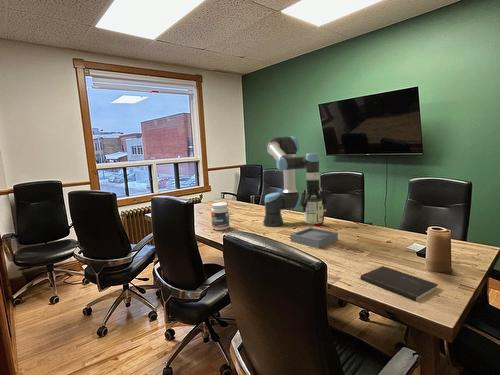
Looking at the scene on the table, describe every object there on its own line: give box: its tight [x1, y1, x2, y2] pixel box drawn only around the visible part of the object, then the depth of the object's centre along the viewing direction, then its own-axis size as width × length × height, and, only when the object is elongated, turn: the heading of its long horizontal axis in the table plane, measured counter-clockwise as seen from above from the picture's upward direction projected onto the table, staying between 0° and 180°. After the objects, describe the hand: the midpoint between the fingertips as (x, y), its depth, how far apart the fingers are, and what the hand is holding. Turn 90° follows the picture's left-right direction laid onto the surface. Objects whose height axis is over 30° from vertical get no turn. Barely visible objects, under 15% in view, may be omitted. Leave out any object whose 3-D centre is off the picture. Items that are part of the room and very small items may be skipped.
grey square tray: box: [289, 226, 339, 249], centre depth 177 cm, size 20×20×4 cm
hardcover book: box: [359, 265, 439, 303], centre depth 118 cm, size 16×23×2 cm
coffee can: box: [304, 196, 324, 225], centre depth 174 cm, size 10×10×14 cm
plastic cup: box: [313, 208, 327, 227], centre depth 210 cm, size 11×11×12 cm
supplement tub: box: [210, 202, 230, 231], centre depth 214 cm, size 13×13×18 cm
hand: (313, 216), depth 175 cm, fingers closed on coffee can, 10 cm apart
